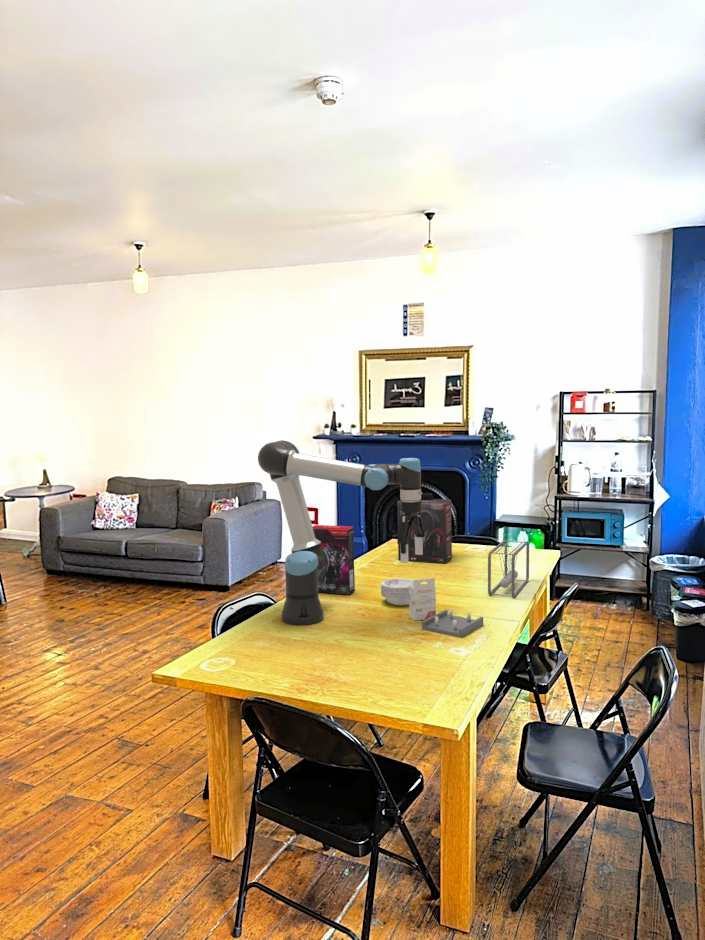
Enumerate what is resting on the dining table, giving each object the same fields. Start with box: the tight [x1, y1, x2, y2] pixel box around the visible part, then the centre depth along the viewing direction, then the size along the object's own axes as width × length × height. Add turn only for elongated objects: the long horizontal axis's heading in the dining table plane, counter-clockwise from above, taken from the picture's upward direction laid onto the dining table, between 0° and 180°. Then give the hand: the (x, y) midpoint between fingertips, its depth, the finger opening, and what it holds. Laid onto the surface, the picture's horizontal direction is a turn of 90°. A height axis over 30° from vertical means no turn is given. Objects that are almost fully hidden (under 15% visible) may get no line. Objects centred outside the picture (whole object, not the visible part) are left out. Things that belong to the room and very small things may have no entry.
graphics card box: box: [312, 524, 356, 596], centre depth 283 cm, size 17×7×27 cm, turn 71°
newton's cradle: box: [487, 539, 530, 599], centre depth 285 cm, size 30×10×18 cm, turn 155°
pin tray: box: [421, 608, 484, 639], centre depth 238 cm, size 16×15×4 cm
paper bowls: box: [380, 578, 415, 606], centre depth 268 cm, size 15×15×8 cm
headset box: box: [396, 492, 453, 564], centre depth 339 cm, size 25×12×33 cm, turn 68°
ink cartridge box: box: [408, 577, 437, 622], centre depth 248 cm, size 9×5×15 cm, turn 105°
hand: (411, 558), depth 254 cm, fingers open, 13 cm apart
